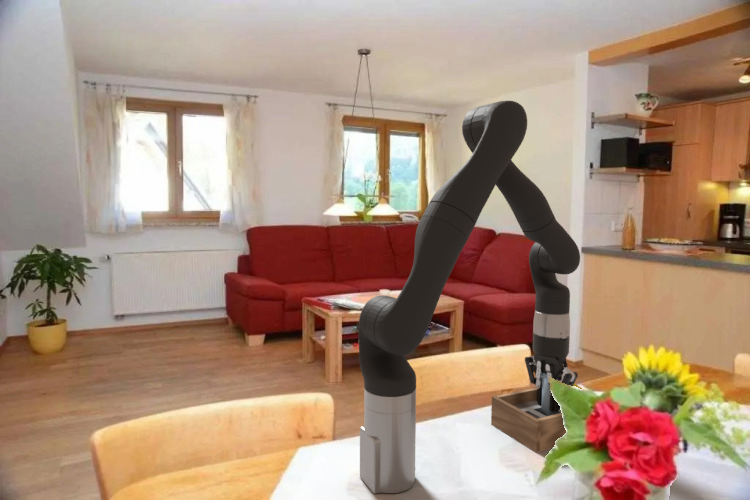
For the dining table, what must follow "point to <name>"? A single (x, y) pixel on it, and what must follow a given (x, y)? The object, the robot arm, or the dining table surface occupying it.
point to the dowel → (546, 397)
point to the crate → (526, 420)
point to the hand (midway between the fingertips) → (548, 407)
